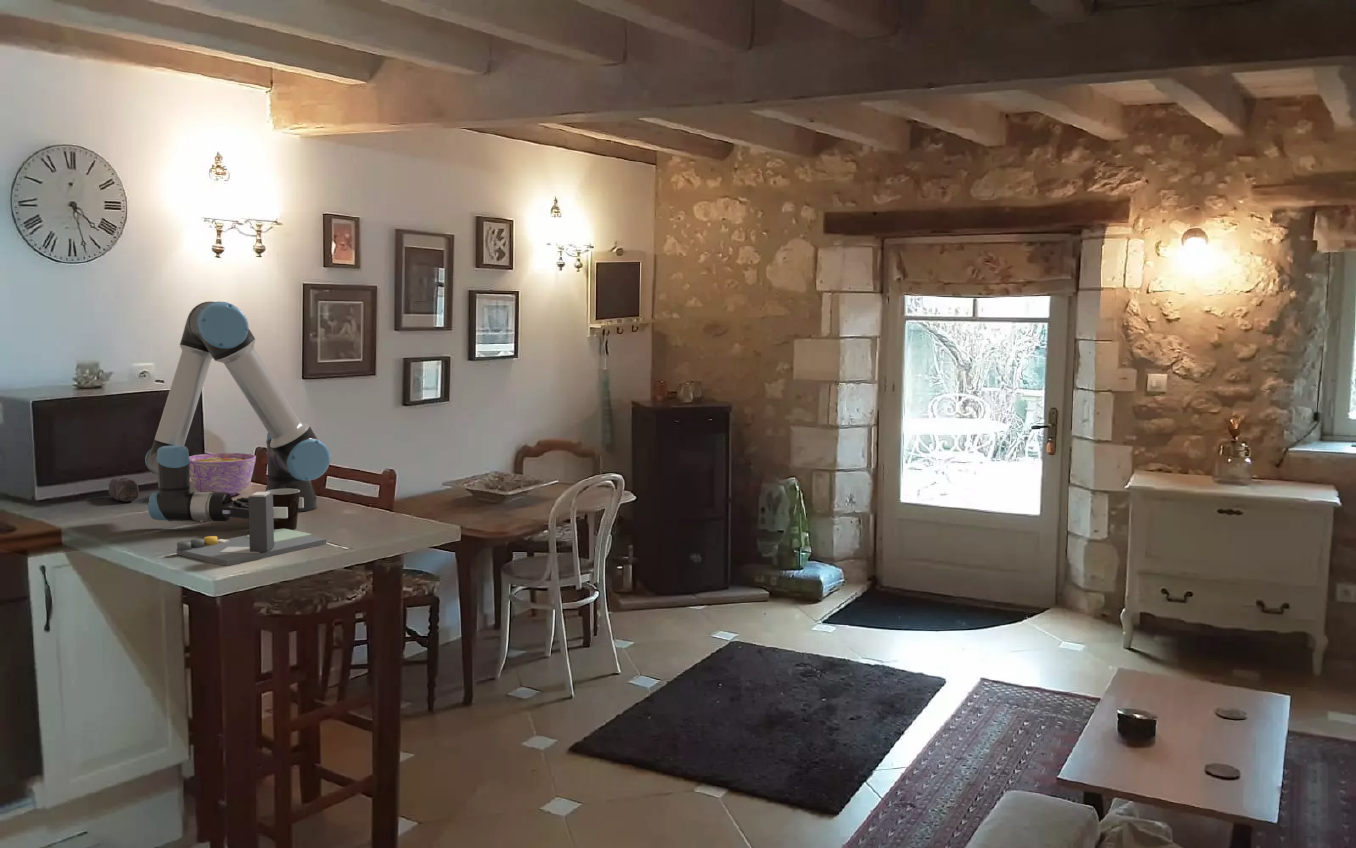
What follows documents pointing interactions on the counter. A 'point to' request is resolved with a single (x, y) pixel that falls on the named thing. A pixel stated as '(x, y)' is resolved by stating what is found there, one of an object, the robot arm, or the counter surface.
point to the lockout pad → (287, 535)
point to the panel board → (239, 549)
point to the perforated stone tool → (123, 489)
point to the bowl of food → (221, 472)
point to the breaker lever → (261, 522)
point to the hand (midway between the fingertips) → (295, 507)
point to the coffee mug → (286, 500)
